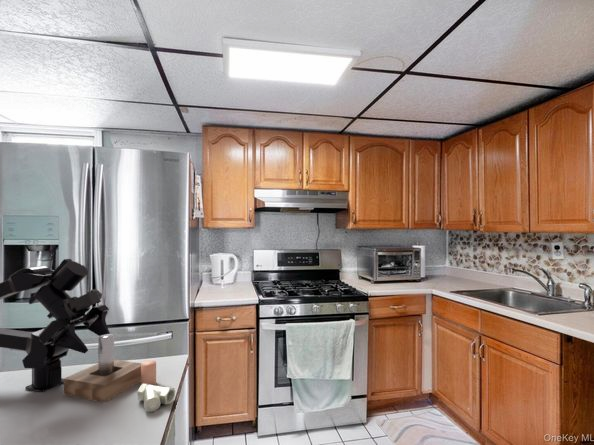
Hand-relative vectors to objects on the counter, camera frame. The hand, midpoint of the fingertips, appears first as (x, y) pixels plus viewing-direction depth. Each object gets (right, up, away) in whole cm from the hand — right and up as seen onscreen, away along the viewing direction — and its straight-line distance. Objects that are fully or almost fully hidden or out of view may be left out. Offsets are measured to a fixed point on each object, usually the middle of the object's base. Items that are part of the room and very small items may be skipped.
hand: (98, 345), depth 86 cm
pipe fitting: (+18, -11, -10) cm, 23 cm away
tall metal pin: (+2, -11, 0) cm, 11 cm away
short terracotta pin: (+13, -10, 0) cm, 17 cm away
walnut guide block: (+2, -11, 0) cm, 11 cm away
